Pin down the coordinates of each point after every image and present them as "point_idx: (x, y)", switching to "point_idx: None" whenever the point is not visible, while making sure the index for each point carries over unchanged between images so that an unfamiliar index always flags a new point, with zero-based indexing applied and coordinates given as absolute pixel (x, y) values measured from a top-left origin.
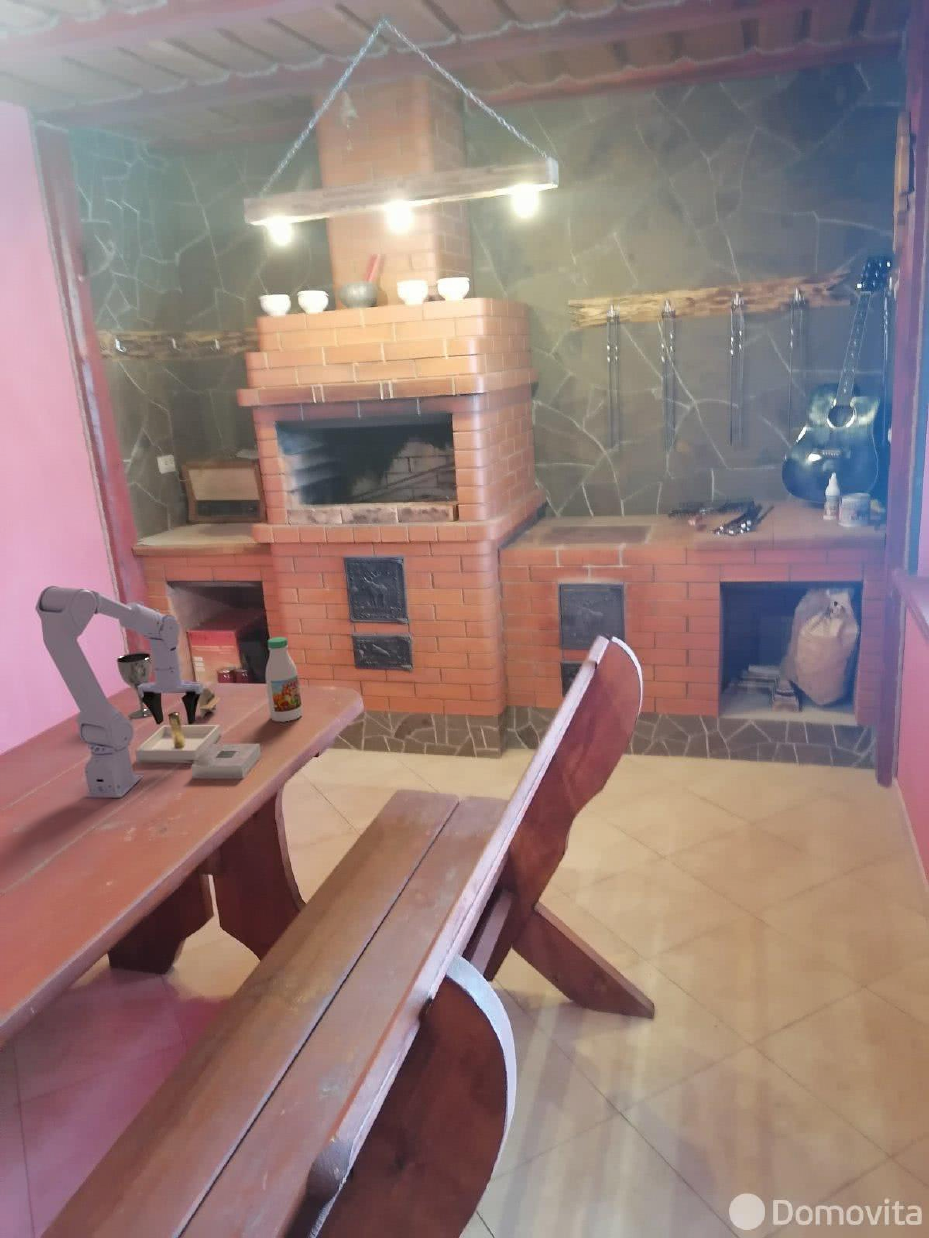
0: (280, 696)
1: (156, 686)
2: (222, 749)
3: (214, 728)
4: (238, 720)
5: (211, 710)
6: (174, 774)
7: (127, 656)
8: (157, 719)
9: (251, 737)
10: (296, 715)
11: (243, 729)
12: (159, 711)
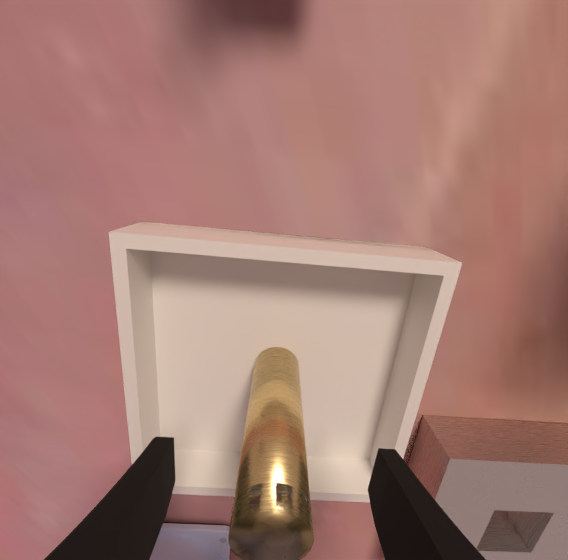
0: None
1: None
2: (497, 501)
3: (438, 306)
4: (497, 5)
5: None
6: (321, 510)
7: None
8: (158, 529)
9: (563, 265)
10: None
11: (527, 162)
12: (134, 547)
